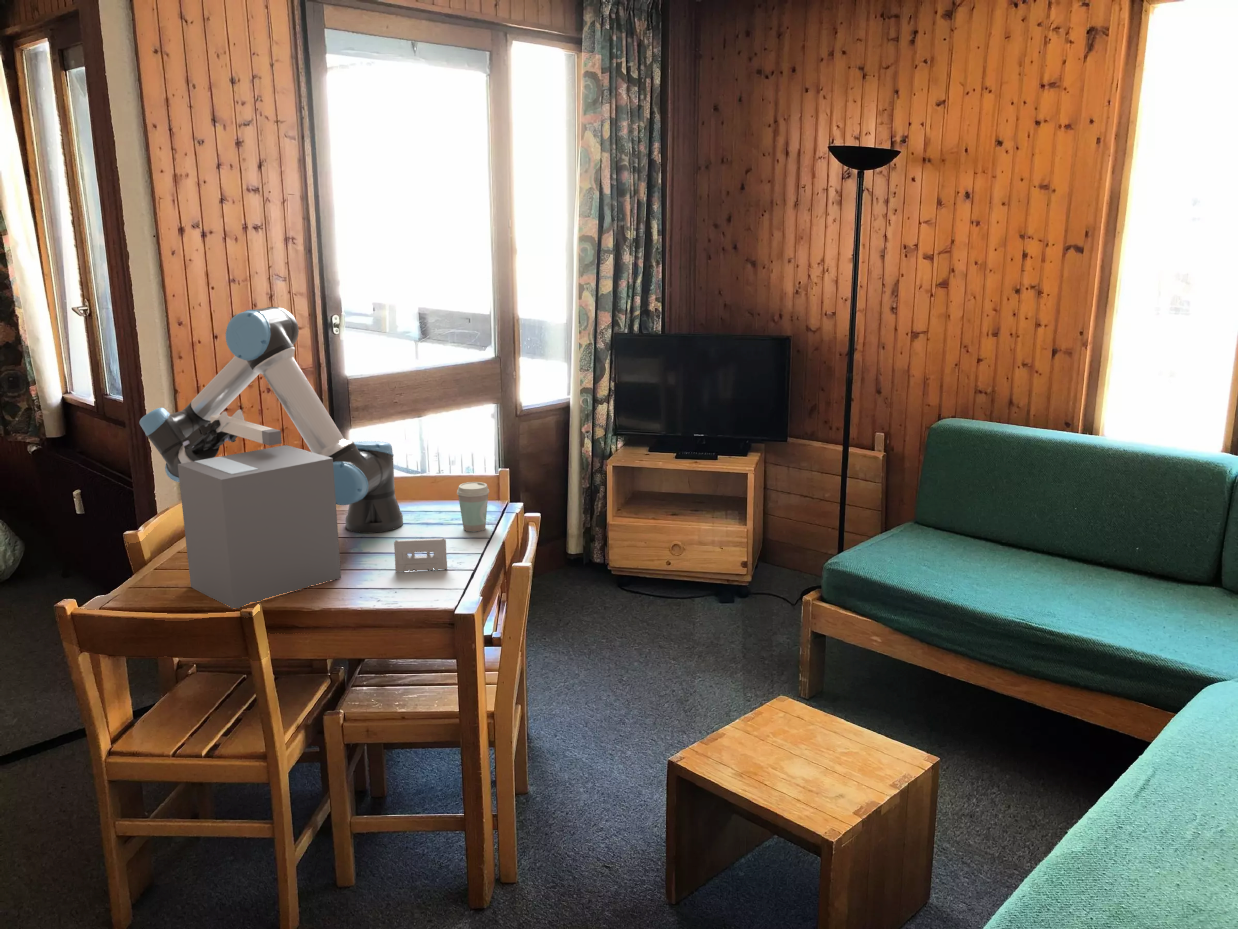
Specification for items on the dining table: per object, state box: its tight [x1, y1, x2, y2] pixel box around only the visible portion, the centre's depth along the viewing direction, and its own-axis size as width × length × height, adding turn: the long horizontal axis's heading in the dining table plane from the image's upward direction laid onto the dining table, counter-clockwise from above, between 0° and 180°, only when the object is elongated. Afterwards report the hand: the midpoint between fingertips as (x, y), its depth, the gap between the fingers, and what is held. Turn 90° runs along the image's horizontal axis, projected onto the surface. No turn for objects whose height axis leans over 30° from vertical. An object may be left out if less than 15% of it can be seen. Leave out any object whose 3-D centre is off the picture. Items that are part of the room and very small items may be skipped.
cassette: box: [393, 538, 448, 572], centre depth 235 cm, size 12×2×8 cm, turn 97°
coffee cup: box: [456, 481, 490, 532], centre depth 266 cm, size 8×8×12 cm
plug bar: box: [210, 414, 283, 446], centre depth 236 cm, size 28×3×3 cm, turn 48°
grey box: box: [178, 444, 342, 609], centre depth 224 cm, size 20×26×29 cm
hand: (234, 415), depth 238 cm, fingers closed on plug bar, 3 cm apart
